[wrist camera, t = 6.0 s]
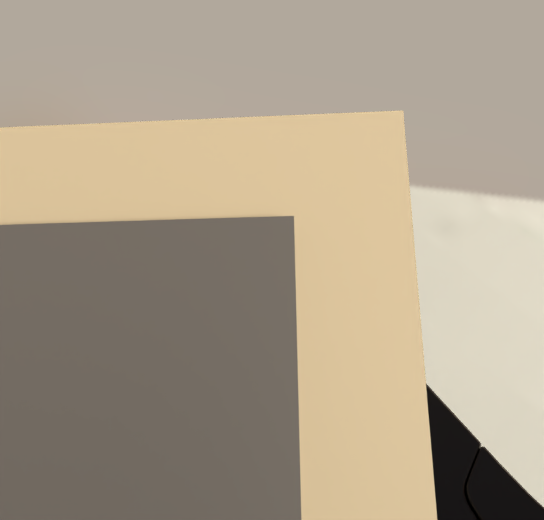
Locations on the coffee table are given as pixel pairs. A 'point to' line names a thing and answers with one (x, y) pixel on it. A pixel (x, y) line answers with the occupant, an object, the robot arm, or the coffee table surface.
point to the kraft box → (211, 322)
